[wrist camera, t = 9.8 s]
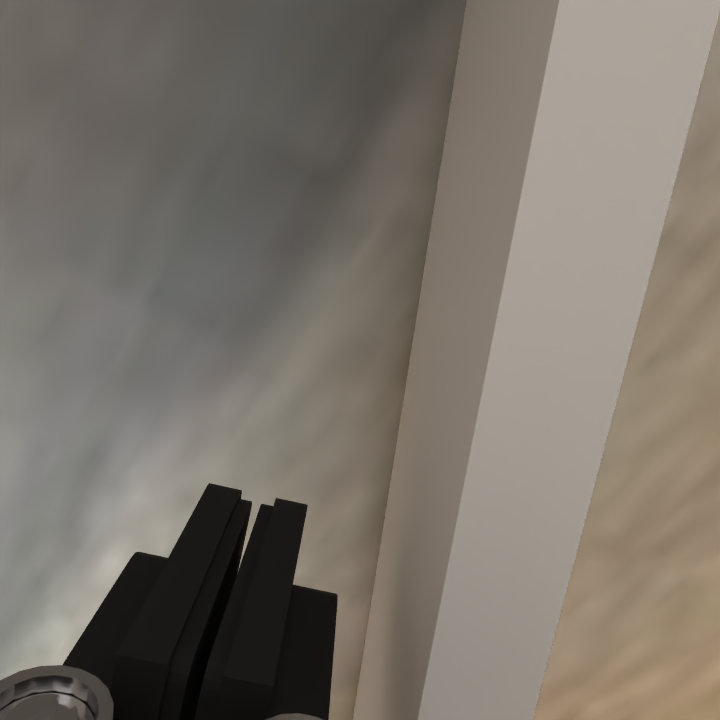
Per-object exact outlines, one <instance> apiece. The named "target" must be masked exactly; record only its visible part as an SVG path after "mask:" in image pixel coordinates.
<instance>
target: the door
mask: <svg viewBox="0 0 720 720" xmlns="http://www.w3.org/2000/svg"><path fill="white" fill-rule="evenodd" d="M719 14H720V0H467V3H466V9H465V15H464V22H463V28H462V34H461V40H460V47H459V53H458V59H457V66H456V72H455V78H454V85H453V91H452V97H451V103H450V110H449V116H448V122H447V129H446V135H445V141H444V147H443V154H442V160H441V166H440V173H439V179H438V185H437V192H436V198H435V204H434V210H433V217H432V223H431V229H430V236H429V242H428V248H427V254H426V261H425V267H424V273H423V280H422V286H421V292H420V299H419V305H418V311H417V317H416V324H415V330H414V336H413V343H412V349H411V355H410V361H409V368H408V374H407V380H406V387H405V393H404V399H403V406H402V412H401V418H400V424H399V431H398V437H397V443H396V450H395V456H394V462H393V468H392V475H391V481H390V487H389V494H388V500H387V506H386V513H385V519H384V525H383V531H382V538H381V544H380V550H379V557H378V563H377V569H376V575H375V582H374V588H373V594H372V601H371V607H370V613H369V620H368V626H367V632H366V638H365V645H364V651H363V657H362V664H361V670H360V676H359V682H358V689H357V695H356V701H355V708H354V714H353V720H533V717H534V713H535V709H536V706H537V702H538V698H539V694H540V690H541V687H542V683H543V679H544V675H545V672H546V668H547V664H548V660H549V656H550V653H551V649H552V645H553V641H554V638H555V634H556V630H557V626H558V622H559V619H560V615H561V611H562V607H563V604H564V600H565V596H566V592H567V588H568V585H569V581H570V577H571V573H572V569H573V566H574V562H575V558H576V554H577V551H578V547H579V543H580V539H581V535H582V532H583V528H584V524H585V520H586V517H587V513H588V509H589V505H590V501H591V498H592V494H593V490H594V486H595V482H596V479H597V475H598V471H599V467H600V464H601V460H602V456H603V452H604V448H605V445H606V441H607V437H608V433H609V430H610V426H611V422H612V418H613V414H614V411H615V407H616V403H617V399H618V396H619V392H620V388H621V384H622V380H623V377H624V373H625V369H626V365H627V361H628V358H629V354H630V350H631V346H632V343H633V339H634V335H635V331H636V327H637V324H638V320H639V316H640V312H641V309H642V305H643V301H644V297H645V293H646V290H647V286H648V282H649V278H650V274H651V271H652V267H653V263H654V259H655V256H656V252H657V248H658V244H659V240H660V237H661V233H662V229H663V225H664V222H665V218H666V214H667V210H668V206H669V203H670V199H671V195H672V191H673V188H674V184H675V180H676V176H677V172H678V169H679V165H680V161H681V157H682V153H683V150H684V146H685V142H686V138H687V135H688V131H689V127H690V123H691V119H692V116H693V112H694V108H695V104H696V101H697V97H698V93H699V89H700V85H701V82H702V78H703V74H704V70H705V66H706V63H707V59H708V55H709V51H710V48H711V44H712V40H713V36H714V32H715V29H716V25H717V21H718V17H719Z"/></svg>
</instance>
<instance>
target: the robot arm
mask: <svg viewBox="0 0 720 720" xmlns="http://www.w3.org/2000/svg"><path fill="white" fill-rule="evenodd" d="M241 494H242V490H238V489H233V488H228V487H224V486H219V485H215V484H210V483H209V484H208V486H207V487H206V489H205V491H204V493H203V495H202V497H201V498H200V500H199V502H198V504H197V506H196V508H195V510H194V511H193V513H192V515H191V517H190V519H189V521H188V522H187V524H186V526H185V528H184V530H183V532H182V534H181V535H180V537H179V539H178V541H177V543H176V545H175V547H174V548H173V550H172V552H171V554H170V556H169V558H165V557H160V556H156V555H151V554H146V553H142V552H136V553H135V554H134V555H133V556H132V557H131V559H130V560H129V562H128V563H127V565H126V567H125V568H124V570H123V571H122V573H121V574H120V576H119V578H118V579H117V581H116V582H115V584H114V585H113V587H112V588H111V590H110V592H109V593H108V595H107V596H106V598H105V599H104V601H103V603H102V604H101V606H100V607H99V609H98V610H97V612H96V613H95V615H94V617H93V618H92V620H91V621H90V623H89V624H88V626H87V628H86V629H85V631H84V632H83V634H82V635H81V637H80V638H79V640H78V642H77V643H76V645H75V646H74V648H73V649H72V651H71V653H70V654H69V656H68V657H67V659H66V660H65V662H64V663H63V665H56V666H39V667H35V668H31V669H27V670H23V671H19V672H17V673H15V674H13V675H11V676H9V677H6V678H4V679H2V680H0V720H328V718H329V705H330V691H331V678H332V665H333V652H334V639H335V626H336V613H337V594H334V593H330V592H325V591H320V590H315V589H311V588H306V587H301V586H297V585H293V580H294V574H295V569H296V564H297V559H298V554H299V548H300V543H301V538H302V533H303V527H304V522H305V517H306V512H307V506H308V505H306V504H301V503H297V502H292V501H288V500H283V499H278V498H276V500H275V503H274V506H269V505H265V504H261V506H260V509H259V512H258V515H257V518H256V521H255V524H254V527H253V530H252V533H251V536H250V539H249V542H248V545H247V547H246V550H245V553H244V556H243V559H242V562H241V565H240V568H239V564H240V559H241V555H242V550H243V545H244V540H245V536H246V531H247V526H248V521H249V517H250V512H251V507H252V502H251V501H247V500H242V499H241ZM238 569H239V571H238ZM237 573H238V574H237Z"/></svg>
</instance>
